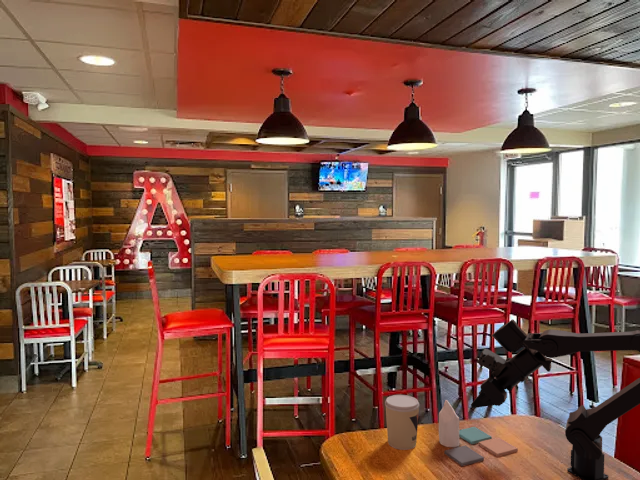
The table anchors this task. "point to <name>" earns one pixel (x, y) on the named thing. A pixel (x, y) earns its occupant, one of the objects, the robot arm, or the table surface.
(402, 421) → the coffee cup
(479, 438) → the teal tile
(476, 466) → the table surface
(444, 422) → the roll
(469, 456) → the charcoal tile
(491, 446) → the terracotta tile
